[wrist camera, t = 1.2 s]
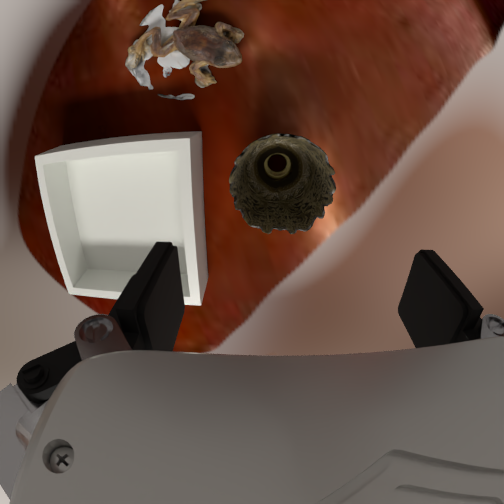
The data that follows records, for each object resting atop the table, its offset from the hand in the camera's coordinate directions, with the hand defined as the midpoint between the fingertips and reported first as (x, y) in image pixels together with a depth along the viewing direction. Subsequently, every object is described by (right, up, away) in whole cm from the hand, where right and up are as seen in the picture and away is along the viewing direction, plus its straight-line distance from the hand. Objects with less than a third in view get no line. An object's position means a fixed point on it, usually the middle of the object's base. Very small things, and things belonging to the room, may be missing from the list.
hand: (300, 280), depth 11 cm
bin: (-15, +5, +19) cm, 24 cm away
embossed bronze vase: (+1, +9, +16) cm, 19 cm away
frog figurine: (-7, +20, +11) cm, 24 cm away
